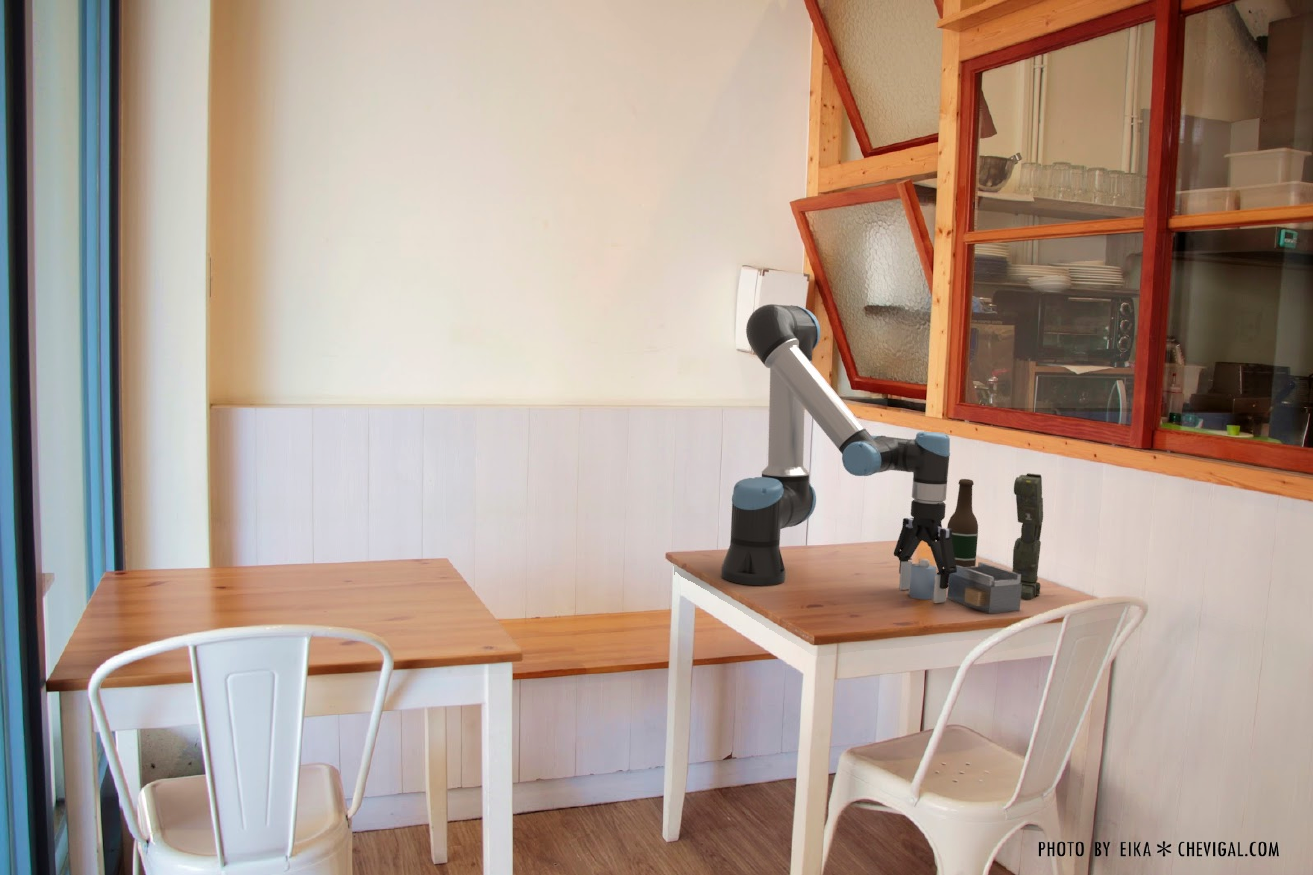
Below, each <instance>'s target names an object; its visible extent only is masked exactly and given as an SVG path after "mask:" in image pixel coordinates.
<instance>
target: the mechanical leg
mask: <svg viewBox="0 0 1313 875" xmlns="http://www.w3.org/2000/svg"><path fill="white" fill-rule="evenodd" d="M1042 479H1043V478H1042V475H1041V474H1038V473H1028V472H1027V473H1026V474H1020V475H1019V477H1016V478H1015V480H1014V484H1013V494H1014V495H1015V500H1016V501H1015V502H1016V514H1017V522H1018V523H1019V524H1020V523H1021V528H1020V529H1021V530H1020V533H1021V534H1020V535H1021V536H1020V537H1018V538H1016V539H1015V541H1014V546H1013V549H1012V551H1013V553H1012V572H1015V573H1018V574H1021V581H1020V583H1021V584H1022V590H1021V600H1022V599H1023V600H1027V601H1030V600H1032V599H1034V598H1035V597H1036V596H1039V595H1040V593H1041V583H1040V582H1038V580H1039V578H1038V577H1039V576H1038V572H1039V562H1040V553H1041V544H1042V541H1041V534H1042V527H1043V526H1042V525H1043V521H1044V500H1043V499H1044V498H1043V484H1042V483H1043V482H1042V481H1043V480H1042Z"/></svg>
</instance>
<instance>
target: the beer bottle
mask: <svg viewBox="0 0 1313 875" xmlns="http://www.w3.org/2000/svg"><path fill="white" fill-rule="evenodd" d="M958 485H959V487H958V492H957V493H958V495H957V500H956V506H955V509H954V510H955V511H954V512H953V514H952V515H951V516H950V518H949V519H948V523H947V527H946V528H951V529H952V545H953V550H954V556H955V562H956V565H959V566H962V567H972V566H976V562H977V552H978V550H977V549H978V538H979V536H978V535H979V524H978V521H977V517H976V516H975V514H974V512H973V486H974V480H973V479H969V478H961V479H959V481H958ZM950 568H951V567H950Z"/></svg>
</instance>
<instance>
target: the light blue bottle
mask: <svg viewBox="0 0 1313 875" xmlns="http://www.w3.org/2000/svg"><path fill="white" fill-rule="evenodd" d="M936 573H937V566H935V565H933V564H930V559H927V558H919V559H918V563H912V565H911V578H910V589H909V594H908V596H909V597H910V598H911V599H912V598H913V599H918V600H922V601H923V600H928V601H929V600H934V593H935V580H936Z"/></svg>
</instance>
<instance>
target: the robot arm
mask: <svg viewBox="0 0 1313 875" xmlns="http://www.w3.org/2000/svg"><path fill="white" fill-rule="evenodd" d="M745 330H746V331H745V333H746V338H747V342H748V344H749V347H750V348H751V350H752V351H753V352H754V354H755V355H756V356H757V358H758V359H759V360H760V362H761V363H762V364H763V365H764V366H765V367H766V368H767V369H769V401H768V402H769V409H768V410H769V411H768V413H769V414H768V448H767V449H768V454H767V456H768V458H767V460H768V462H767V466H766V467H765V468H764V469H763V470H762V471H761V476H757V477H747V478H743V479H740V480H739V481H737V482H736V483H735V484H734V486H733V491H732V497H731V523H730V524H731V525H730V541H729V547H728V550H727V551H726V555H725V558H724V560H723V563H722V566H721V571H720V572H721V574H720V576H721V578H722V579H723V580H726V581H728V582H731V583H734V584H740V585H747V586H775V585H779V584H782V583H784V582H785V580H786V569H785V564H784V560H783V557H782V552H781V548H780V543H781V530H782V529H786V528H791V527H796V526H798V525H800V524H802V523H804V522H806V521H807V520H808V519H809V518H810V517H811V516H812V514H813V513H814V511H815V508H816V504H817V495H816V490H815V488H814V487H813V486H812V485H811V483H810V472H809V471H808V470H807V469H806V468H805V467H804V448H805V446H804V445H805V444H804V442H805V410H806V411H807V413H808V414H809V415H810V416H811V417H812V419H814V421H815V422H816V424H817V425H818V426H819V427H820V428H821V430H822V431H823V432H824V433H825V435H826V436H827V437H828V438H829V439H830V441H831V442H832V443H833V444H834V446H835V447H836V448H837V450H838V451H839V452H840V454H841V455H842V456H841V460H842V461H841V462H842V465H843V468H844V469H845V470H846V472H848V473H849V474H850V475H852V476H856V477H869V476H872V475H874V474H878V473H884V472H889V471H898V472H906V473H913V475H912V476H913V477H912V486H911V487H912V489H911V490H912V491H911V498H912V501H911V504H910V516H911V517H906V518H905V517H904V518H902V528H901V531H900V533H899V536H898V539H897V543H896V546H895V548H894V550H893V551H894V552H893V556H894V557H897V559H898V561H899V569H898V571H899V572H898V574H899V585H898V589H899V590H900V591H901V590H903V591H904V590H910V578H911V565H912V564H913V561H912V560H913V559H912V556H913V554H914V553H915V551H916V550H917V548H918V547H919V545H920V543H921V542H922V541H923V542H924V543H926V544H927V546H928V547H930V550H931V551H930V552H931V553H932V555H933V556H932V557H933V559H934V561H935V565H936V569H937V571H938V572H937V571H936V578H935V591H934V599H933V603H935V604H938V603H946V602H947V601H946V599H947V590H948V584H949V575H950V574H951V573H956V572H957V568H956V562H955V556H954V550H953V545H952V529H951V528H947V527H943V526H942V521H943V520H944V519H945V517H946V507H947V506H946V505H947V504H946V503H945V501H946V500H947V493H948V492H947V491H948V477H949V476H948V475H949V465H950V456H951V452H950V451H951V449H950V445H951V444H950V442H951V438H950V436H949V434H946V433H944V432H938V431H918V432H917V433H916V436H915V438H913V439H909V438H899V437H892V436H886V435H871V434H870V433H869V431H868V430H867V429H866V427H864V425H863V424H862V423H861V422H860V421H859V420H860V419H858V418H857V417H856V415H855V414H854V413H853V412H852V411H851V409H850V408H849V407H848V406H847V404H846V403H845V402H844V401H843V400H842V399H841V397H840V396H839V395H838V394H837V392H836V391H835V389H833V387H832V386H831V385H830V384H829V382H827V380H826V379H825V378H824V376H822V374H821V373H820V372H819V370H818V369H817V368H816V367H815V366H814V364H813V363H812V362H813V350H814V349H815V347H817V346H818V343H819V342H820V339H821V327H820V322H819V320H818V319H817V316H816V315H814V314H813V312H812V311H810V310H809V309H806V308H804V307H801V306H799V305H792V304H791V305H784V304H783V305H782V304H772V303H771V304H766V305H762V306H760V307H758V308H756V309H755V310H754V311H753V312H752V313H751V315H750V316H749V318H748V320H747V322H746V329H745ZM950 567H951V568H950Z"/></svg>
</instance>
